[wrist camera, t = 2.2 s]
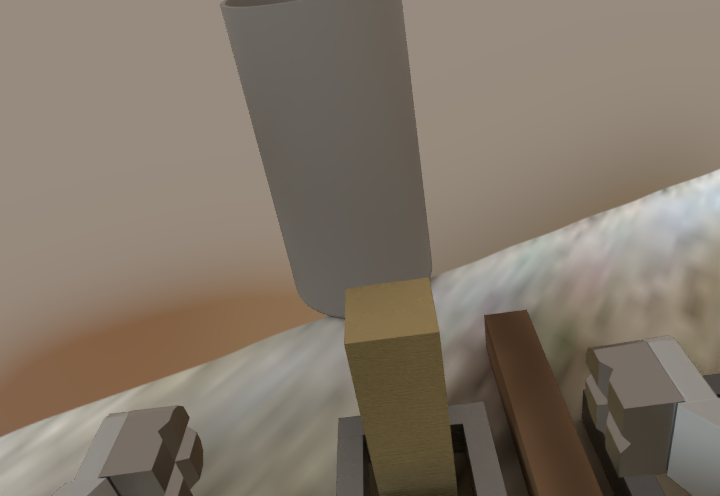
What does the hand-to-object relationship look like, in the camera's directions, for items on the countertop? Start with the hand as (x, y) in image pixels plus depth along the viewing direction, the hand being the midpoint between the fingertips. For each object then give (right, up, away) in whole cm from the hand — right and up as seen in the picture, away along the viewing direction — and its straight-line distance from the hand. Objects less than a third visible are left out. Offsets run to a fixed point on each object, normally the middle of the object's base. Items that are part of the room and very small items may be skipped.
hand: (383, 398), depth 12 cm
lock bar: (+3, -11, +21) cm, 24 cm away
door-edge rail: (+11, -10, +22) cm, 26 cm away
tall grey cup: (0, 0, +41) cm, 41 cm away
